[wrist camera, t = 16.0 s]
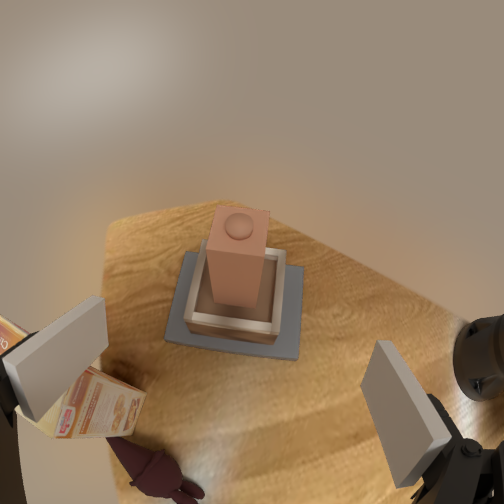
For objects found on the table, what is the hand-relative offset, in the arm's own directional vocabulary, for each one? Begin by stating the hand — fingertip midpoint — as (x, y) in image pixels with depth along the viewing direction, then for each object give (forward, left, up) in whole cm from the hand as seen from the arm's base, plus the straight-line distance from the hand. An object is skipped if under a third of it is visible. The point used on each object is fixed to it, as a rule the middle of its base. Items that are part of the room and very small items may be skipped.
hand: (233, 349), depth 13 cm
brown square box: (+1, -12, -25) cm, 28 cm away
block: (+1, -12, -20) cm, 23 cm away
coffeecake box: (+19, +5, -27) cm, 33 cm away
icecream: (+9, +13, -27) cm, 31 cm away
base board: (+1, -12, -26) cm, 29 cm away
